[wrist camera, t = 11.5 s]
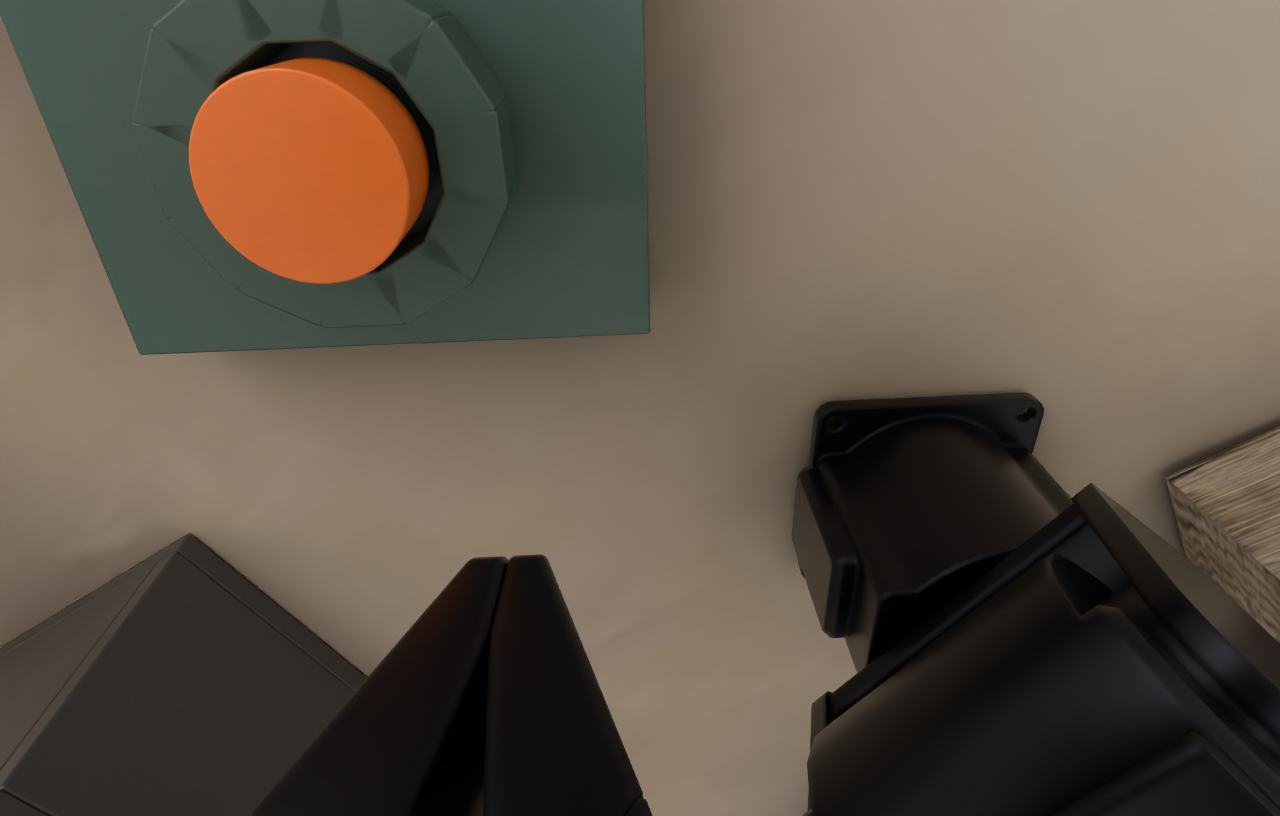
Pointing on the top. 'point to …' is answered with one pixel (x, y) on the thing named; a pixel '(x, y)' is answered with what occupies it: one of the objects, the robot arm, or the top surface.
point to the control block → (455, 143)
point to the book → (1235, 523)
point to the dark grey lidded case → (163, 696)
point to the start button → (309, 168)
